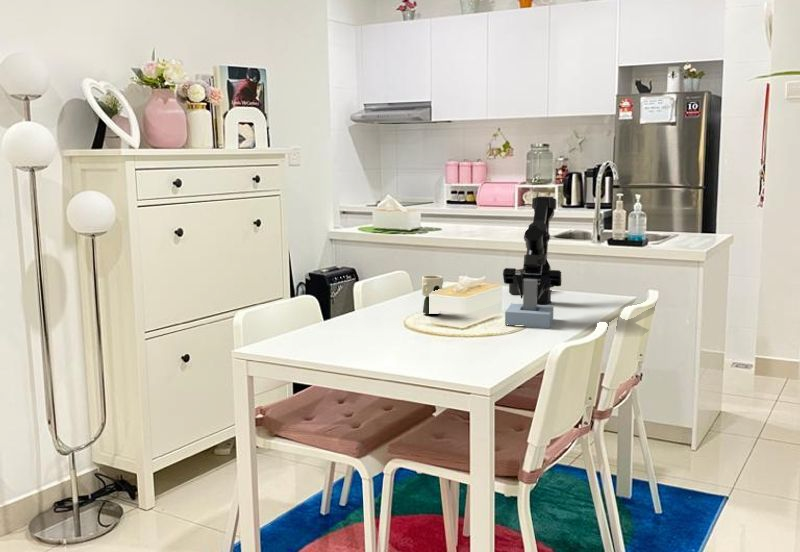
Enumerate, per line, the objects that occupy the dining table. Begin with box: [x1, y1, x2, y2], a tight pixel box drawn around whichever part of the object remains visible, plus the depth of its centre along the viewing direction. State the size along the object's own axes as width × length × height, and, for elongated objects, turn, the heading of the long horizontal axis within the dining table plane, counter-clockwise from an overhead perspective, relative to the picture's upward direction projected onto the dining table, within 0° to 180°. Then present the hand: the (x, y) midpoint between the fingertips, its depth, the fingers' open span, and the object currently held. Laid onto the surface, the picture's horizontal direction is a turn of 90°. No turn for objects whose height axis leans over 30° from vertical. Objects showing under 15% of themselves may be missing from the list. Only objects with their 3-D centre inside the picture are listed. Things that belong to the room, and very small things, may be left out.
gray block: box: [522, 279, 538, 311], centre depth 265 cm, size 4×4×13 cm
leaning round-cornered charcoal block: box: [508, 268, 524, 296], centre depth 317 cm, size 16×5×9 cm, turn 134°
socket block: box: [504, 302, 555, 329], centre depth 266 cm, size 14×14×4 cm
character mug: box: [421, 274, 444, 315], centre depth 277 cm, size 11×7×13 cm, turn 145°
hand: (529, 298), depth 264 cm, fingers open, 5 cm apart
